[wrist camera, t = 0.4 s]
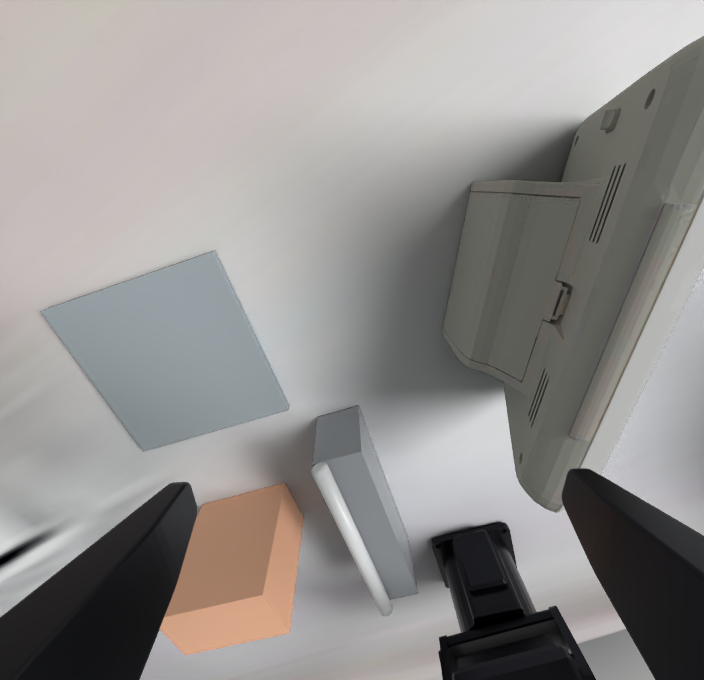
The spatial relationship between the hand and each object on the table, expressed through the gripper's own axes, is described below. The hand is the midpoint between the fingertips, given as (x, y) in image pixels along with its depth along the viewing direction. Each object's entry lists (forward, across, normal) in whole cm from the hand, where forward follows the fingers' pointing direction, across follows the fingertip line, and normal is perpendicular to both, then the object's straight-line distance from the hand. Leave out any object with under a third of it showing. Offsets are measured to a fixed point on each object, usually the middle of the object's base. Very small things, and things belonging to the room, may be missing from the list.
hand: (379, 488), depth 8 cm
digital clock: (+14, -10, -2) cm, 17 cm away
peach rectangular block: (+14, +9, +17) cm, 24 cm away
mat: (+14, +12, +3) cm, 18 cm away
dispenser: (+14, 0, +14) cm, 20 cm away
